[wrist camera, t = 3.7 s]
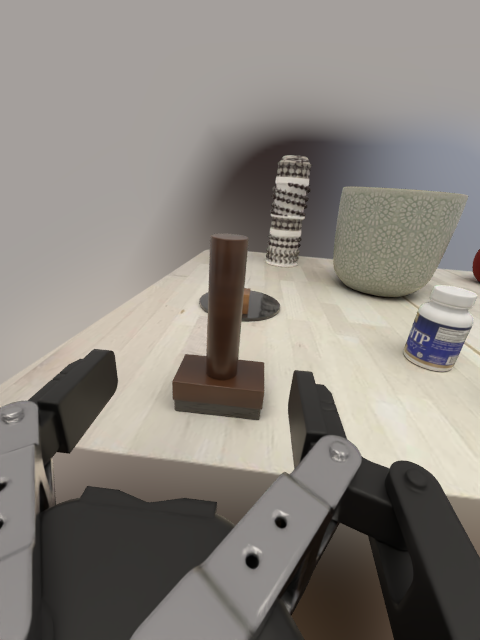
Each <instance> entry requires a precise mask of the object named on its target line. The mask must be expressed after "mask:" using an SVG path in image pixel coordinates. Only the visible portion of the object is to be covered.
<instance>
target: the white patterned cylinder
mask: <svg viewBox="0 0 480 640" xmlns="http://www.w3.org/2000/svg"><path fill="white" fill-rule="evenodd" d="M278 166H279V167H278V175H277V177H276V184H277V186H275V187H273V189H272V190H273V191H274V192H275V193H276V194H275V193H274V194H273V195H272V198H273V199H274V200H275V201H274V202H273V203H272V204H271V206H272V207H273V209H272V210H271V211H270V212H271V213H272V214H271V216H272V218H273V219H272V226H271V228H270V235H269V236H268V238H269V239H270V241H268V242H267V243H268V244H269V247H268V248H267V252H268V253H267V254H266V257H267V258H268V259H266V263H268V264H270V265H274V266H280V267H294V266H297V262H296V261H297V260H298V256H297V255H298V254H299V250H298V249H297V248H298V247H300V244H299V243H298V242H300V241H301V238H300V236H301V225H302V219H304V218H305V217H304V216H305V213H304V212H303V209H305V208H307V205H306V204H304V203H305V202H307V201H308V198H307V197H306V194H307V193H309V192H310V189H309V186H310V185H309V173H310V167H311V165H310V163H309V161H308V159H307V157H303V156H295V155H288V156H284V157H283V158H282V159H281V161H280V162H279V163H278Z"/></svg>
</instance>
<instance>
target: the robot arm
mask: <svg viewBox="0 0 480 640" xmlns="http://www.w3.org/2000/svg"><path fill="white" fill-rule="evenodd" d="M117 384H118V378H117V370H116V362H115V355H114V352H113V351H109V350H99V349H94V350H92V351H91V352H90V353H89V354H88V355H87V356H86V357H85V358H83V359H79V360H77V361H75V362H73V363H71V364H69V365H68V366H67V367H66V368H64V369H63V370H62V371H61V372H60V374H58V375H56V376H55V377H54V378H53V380H51V381H50V382H48V383H47V384H46V385H45V386H44V387H43V388H42V389H40V390H39V391H38V392H37V393H36V394H35V395H34V396H33V397H31V398H30V399H29V400H28V401H18V402H14V403H10V404H8V405H5V406H3V407H1V408H0V640H304V638H303V636H302V634H301V633H300V631H299V629H298V628H297V626H296V624H295V622H294V620H293V619H292V617H291V615H292V613H293V612H294V610H295V608H296V606H297V604H298V602H299V601H300V599H301V597H302V595H303V593H304V591H305V589H306V586H307V585H308V583H309V580H310V578H311V576H312V573H313V571H314V569H315V567H316V565H317V563H318V561H319V560H320V558H321V556H322V554H323V552H324V551H325V549H326V547H327V545H328V543H329V541H330V540H331V538H332V536H333V534H334V532H335V531H336V529H337V527H338V525H339V523H342V524H344V525H346V526H348V527H351V528H353V529H355V530H357V531H359V532H362V533H364V534H366V535H368V537H369V541H370V545H371V549H372V553H373V557H374V561H375V565H376V569H377V573H378V577H379V581H380V585H381V589H382V593H383V597H384V600H385V605H386V609H387V613H388V617H389V621H390V625H391V629H392V633H393V637H394V640H480V557H479V556H478V554H477V552H476V550H475V549H474V546H473V545H472V543H471V541H470V539H469V537H468V535H467V534H466V532H465V530H464V528H463V526H462V524H461V522H460V521H459V519H458V517H457V515H456V513H455V512H454V510H453V508H452V506H451V504H450V502H449V500H448V499H447V497H446V495H445V493H444V491H443V489H442V487H441V486H440V484H439V482H438V481H437V480H436V478H435V477H434V476H433V475H432V474H431V473H430V472H428V471H427V470H426V469H424V468H423V467H421V466H419V465H417V464H415V463H412V462H409V461H396V462H394V463H393V464H392V465H391V467H390V469H389V468H387V467H384V466H381V465H379V464H376V463H373V462H371V461H369V460H367V459H365V458H363V457H362V456H361V454H360V452H359V450H358V449H357V447H356V446H355V445H354V444H353V443H351V442H350V441H349V440H347V438H346V435H345V432H344V429H343V426H342V423H341V420H340V417H339V414H338V412H337V408H336V405H335V404H334V399H333V396H332V393H331V392H330V391H329V390H328V389H327V388H326V387H325V386H324V385H320V384H315V380H314V376H313V373H312V372H308V371H298V370H295V371H294V373H293V379H292V384H291V390H290V395H289V402H288V415H289V424H290V433H291V442H292V451H293V460H294V470H293V472H292V473H291V474H287V473H286V472H284V473H282V474H281V475H280V476H279V477H278V478H277V479H276V481H275V482H274V483H273V484H272V485H271V486H270V487H269V488H268V490H267V491H266V492H265V493H264V494H263V495H262V496H261V498H260V499H259V500H258V501H257V502H256V503H255V505H254V506H253V507H252V508H251V509H250V510H249V511H248V513H247V514H246V515H245V516H244V517H243V518H242V519H241V521H240V522H239V523H238V524H237V525H234V524H233V523H232V522H230V521H229V520H228V519H226V518H224V517H223V516H221V515H218V514H216V508H217V502H211V501H204V500H196V499H187V498H182V499H174V500H166V501H159V502H150V503H149V502H145V501H143V500H141V499H138V498H136V497H134V496H131V495H129V494H127V493H124V492H122V491H120V490H114V489H106V488H99V487H91V486H87V488H86V489H85V491H84V493H83V494H82V496H81V497H80V498H76V499H72V500H68V501H65V502H62V503H59V504H57V505H56V498H55V484H54V469H53V461H52V457H53V456H54V454H55V453H56V452H61V453H70V452H71V451H72V450H73V448H74V447H75V446H76V444H77V443H78V442H79V440H80V439H81V438H82V436H83V435H84V433H85V432H86V431H87V429H88V428H89V427H90V425H91V424H92V423H93V421H94V420H95V419H96V417H97V416H98V415H99V413H100V412H101V411H102V409H103V408H104V407H105V405H106V404H107V403H108V401H109V400H110V399H111V397H112V396H113V395H114V393H115V391H116V388H117Z"/></svg>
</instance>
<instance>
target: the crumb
mask: <svg viewBox="0 0 480 640" xmlns="http://www.w3.org/2000/svg"><path fill="white" fill-rule="evenodd" d="M249 297H250V289H247V288H244V297H243V308H242V314H248V308H249Z"/></svg>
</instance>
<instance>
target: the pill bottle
mask: <svg viewBox="0 0 480 640" xmlns="http://www.w3.org/2000/svg"><path fill="white" fill-rule="evenodd" d="M476 298H477V294H475V293H474V292H472V291H469V290H466V289H463V288H459V287H454V286H447V285H436V286H434V288H433V290H432V293H431V295H430V299H431V302H427V303H424V304H422V305H421V306H420V308H419V310H418V312H417V315H416V318H415V320H414V323H413V326H412V329H411V331H410V334H409V337H408V340H407V342H406V345H405V348H404V355H405V357H406V358H407V359H408V360H410V361H411V362H413V363H414V364H416V365H418V366H420V367H423V368H426V369H429V370H433V371H448V370H451V369H452V368H453V366H454V364H455V362H456V360H457V358H458V355H459V353H460V351H461V349H462V346H463V344H464V342H465V340H466V338H467V336H468V334H469V332H470V329H471V327H472V325H473V322H474V318H473V316H472V315H471V314H470V313H469V312H468V309H471V308H472V306H474V304H475V301H476Z"/></svg>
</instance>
